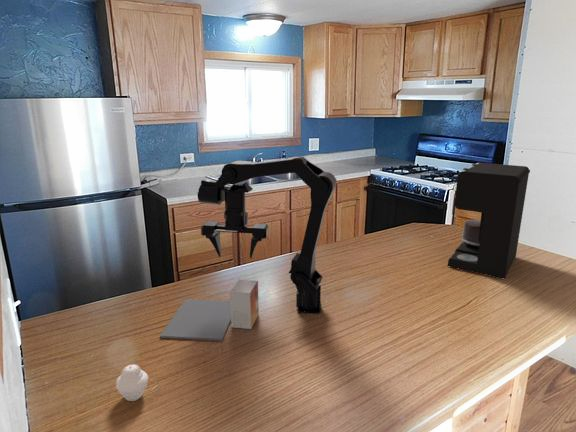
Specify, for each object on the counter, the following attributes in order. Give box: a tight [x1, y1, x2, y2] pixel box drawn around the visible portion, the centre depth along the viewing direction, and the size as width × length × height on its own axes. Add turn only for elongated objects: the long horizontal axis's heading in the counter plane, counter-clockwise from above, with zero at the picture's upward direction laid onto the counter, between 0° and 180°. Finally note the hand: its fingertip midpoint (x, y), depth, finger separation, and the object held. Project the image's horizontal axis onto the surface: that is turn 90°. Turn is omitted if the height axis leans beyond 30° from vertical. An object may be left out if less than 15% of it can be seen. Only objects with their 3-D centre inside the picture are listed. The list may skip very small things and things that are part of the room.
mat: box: [159, 298, 231, 342], centre depth 113 cm, size 16×20×1 cm
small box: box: [229, 279, 260, 330], centre depth 111 cm, size 8×6×10 cm
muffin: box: [115, 364, 149, 402], centre depth 83 cm, size 6×6×7 cm
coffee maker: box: [447, 162, 531, 280], centre depth 149 cm, size 28×20×35 cm
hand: (235, 257), depth 121 cm, fingers open, 9 cm apart
